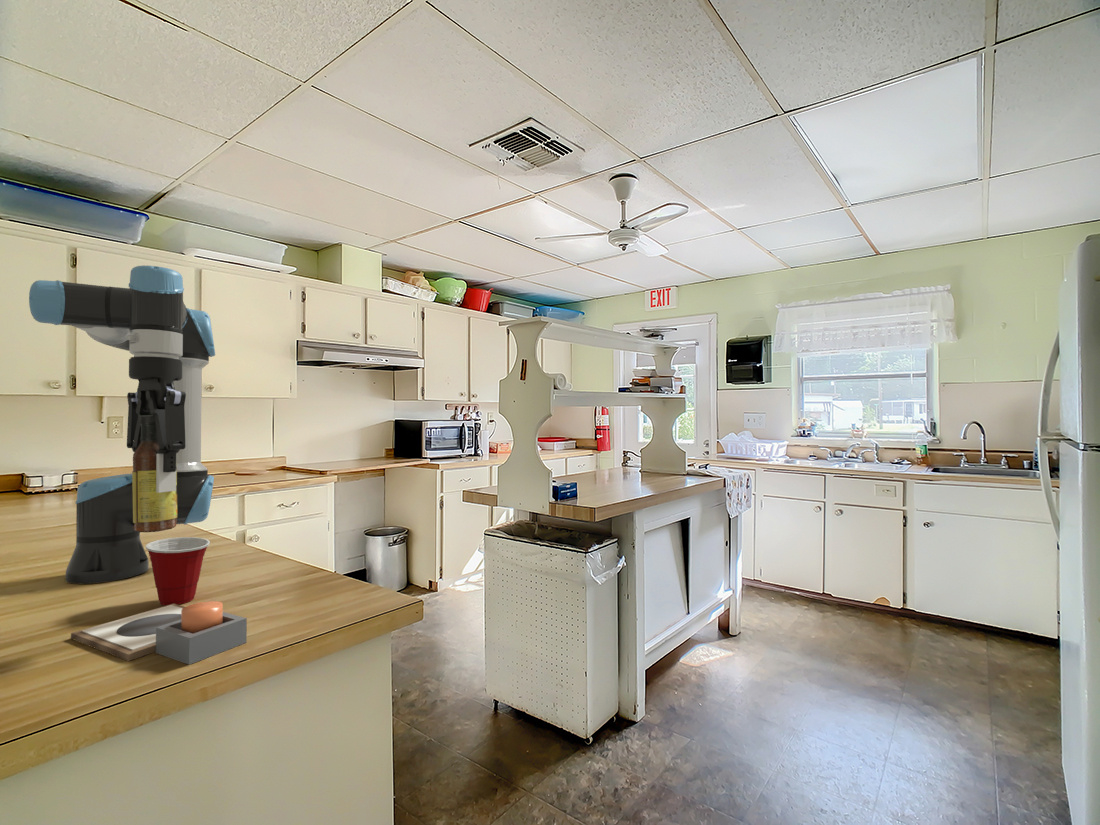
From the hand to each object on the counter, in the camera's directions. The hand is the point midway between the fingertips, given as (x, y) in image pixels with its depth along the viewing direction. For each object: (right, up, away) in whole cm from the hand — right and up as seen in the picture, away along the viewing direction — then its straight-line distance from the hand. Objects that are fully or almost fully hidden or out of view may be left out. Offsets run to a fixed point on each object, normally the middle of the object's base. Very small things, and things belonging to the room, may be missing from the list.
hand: (155, 490), depth 93 cm
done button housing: (+12, -25, -7) cm, 28 cm away
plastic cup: (-7, -25, +16) cm, 30 cm away
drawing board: (0, -25, 0) cm, 25 cm away
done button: (+12, -22, -7) cm, 26 cm away
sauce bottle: (0, -7, 0) cm, 7 cm away
